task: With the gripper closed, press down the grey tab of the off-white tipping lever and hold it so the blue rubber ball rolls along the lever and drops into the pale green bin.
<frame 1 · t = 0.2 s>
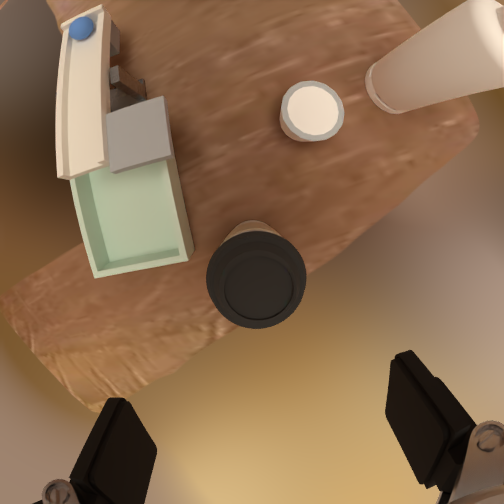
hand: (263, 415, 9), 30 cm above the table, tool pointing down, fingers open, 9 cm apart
ball: (81, 28, 21), point 10 cm above the table, tilted 17°, touching lever
lever: (111, 81, 24), point 9 cm above the table, hinge at -10.0°, touching ball
lever stand: (118, 102, 33), on the table
bottle: (389, 87, 33), on the table
coffee cup: (252, 246, 39), on the table
shot glass: (301, 120, 35), on the table
bin: (135, 200, 37), on the table
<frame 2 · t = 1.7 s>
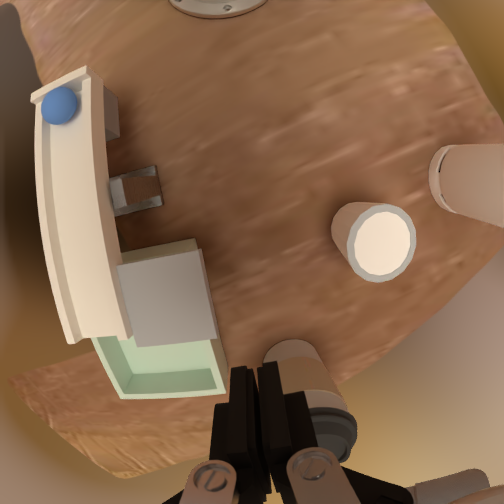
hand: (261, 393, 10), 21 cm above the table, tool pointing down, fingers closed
ball: (58, 105, 16), point 10 cm above the table, tilted 17°, touching lever
lever: (114, 201, 20), point 9 cm above the table, hinge at -10.0°, touching ball
lever stand: (124, 194, 28), on the table
bottle: (452, 178, 29), on the table
coffee cup: (290, 361, 34), on the table
shot glass: (355, 228, 30), on the table
bin: (157, 316, 32), on the table
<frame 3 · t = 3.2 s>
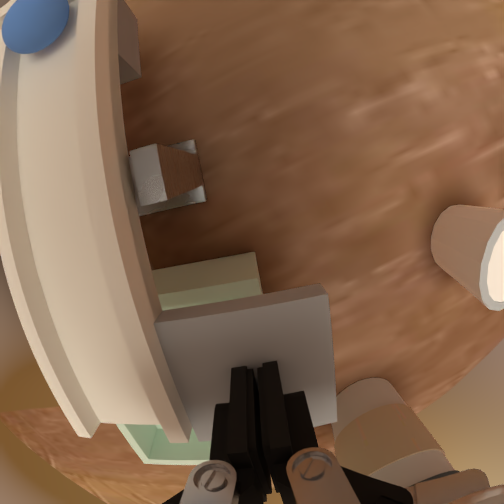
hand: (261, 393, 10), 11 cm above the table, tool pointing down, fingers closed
ball: (35, 20, 6), point 11 cm above the table, tilted 11°, touching lever
lever: (139, 192, 10), point 9 cm above the table, hinge at -4.7°, touching ball, gripper
lever stand: (142, 184, 19), on the table
coffee cup: (361, 402, 25), on the table
shot glass: (454, 237, 20), on the table
bin: (192, 360, 22), on the table
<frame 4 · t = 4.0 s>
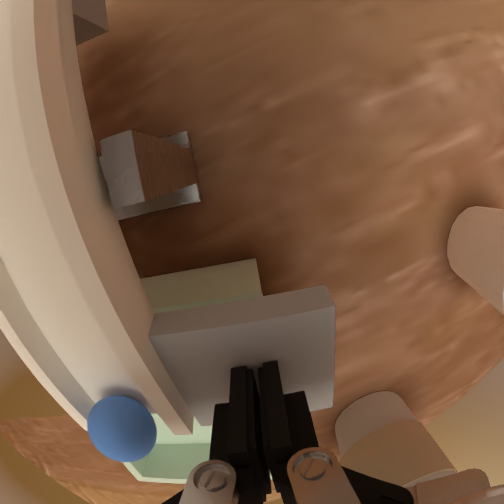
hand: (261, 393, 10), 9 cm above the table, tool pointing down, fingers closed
ball: (121, 429, 10), point 10 cm above the table, tilted 77°, touching lever
lever: (114, 190, 8), point 9 cm above the table, hinge at 11.8°, touching ball, gripper
lever stand: (130, 182, 16), on the table
coffee cup: (368, 416, 23), on the table
shot glass: (470, 241, 18), on the table
bin: (187, 375, 20), on the table
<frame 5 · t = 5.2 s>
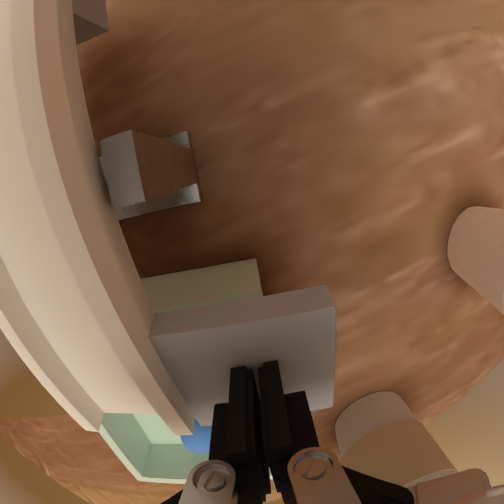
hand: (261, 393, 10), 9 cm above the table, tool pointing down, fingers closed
ball: (199, 435, 19), point 2 cm above the table, tilted 13°, touching bin
lever: (114, 190, 8), point 9 cm above the table, hinge at 11.9°, touching gripper
lever stand: (130, 182, 16), on the table
coffee cup: (369, 416, 23), on the table
shot glass: (470, 241, 18), on the table
bin: (187, 375, 20), on the table
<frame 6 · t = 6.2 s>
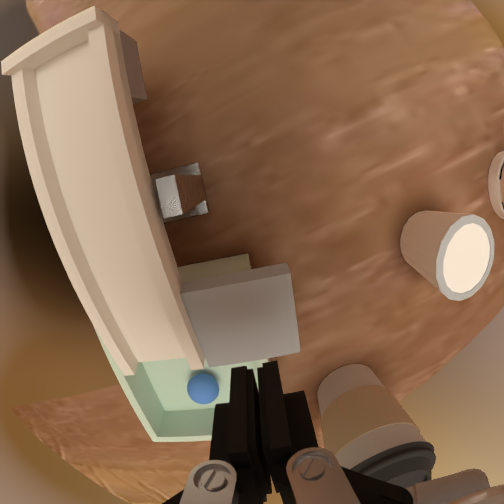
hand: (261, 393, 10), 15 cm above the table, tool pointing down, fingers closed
ball: (203, 388, 25), point 2 cm above the table, tilted 51°, touching bin
lever: (162, 207, 15), point 9 cm above the table, hinge at 11.9°
lever stand: (156, 198, 23), on the table
coffee cup: (346, 387, 29), on the table
shot glass: (422, 239, 25), on the table
bin: (196, 347, 27), on the table
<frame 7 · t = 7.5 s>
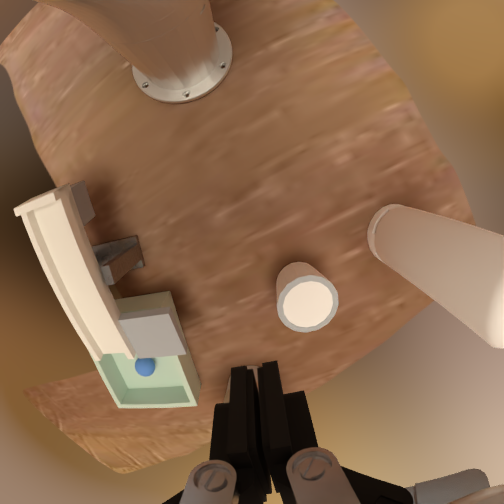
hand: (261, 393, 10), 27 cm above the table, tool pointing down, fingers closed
ball: (144, 366, 38), point 2 cm above the table, tilted 101°, touching bin
lever: (106, 279, 28), point 9 cm above the table, hinge at 11.9°
lever stand: (114, 256, 37), on the table
bottle: (392, 233, 37), on the table
shot glass: (297, 281, 38), on the table
bin: (145, 346, 40), on the table
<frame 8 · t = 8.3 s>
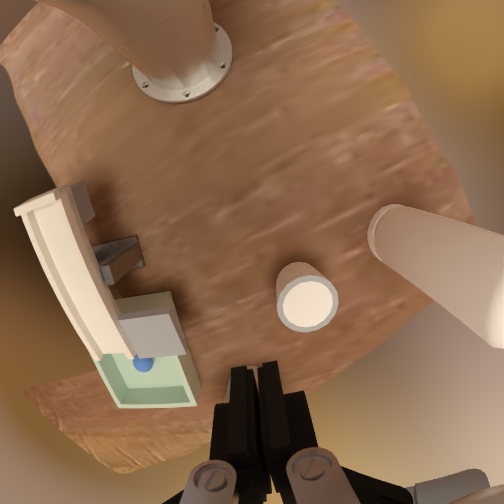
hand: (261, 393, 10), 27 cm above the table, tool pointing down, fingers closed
ball: (143, 362, 38), point 2 cm above the table, tilted 131°, touching bin
lever: (106, 279, 28), point 9 cm above the table, hinge at 11.9°
lever stand: (114, 256, 37), on the table
bottle: (392, 233, 37), on the table
shot glass: (297, 281, 38), on the table
bin: (145, 346, 40), on the table
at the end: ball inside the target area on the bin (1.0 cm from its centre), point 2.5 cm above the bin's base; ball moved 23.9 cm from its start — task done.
